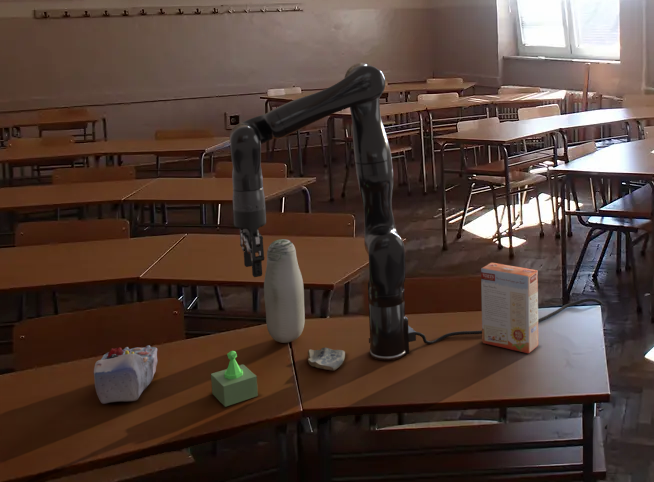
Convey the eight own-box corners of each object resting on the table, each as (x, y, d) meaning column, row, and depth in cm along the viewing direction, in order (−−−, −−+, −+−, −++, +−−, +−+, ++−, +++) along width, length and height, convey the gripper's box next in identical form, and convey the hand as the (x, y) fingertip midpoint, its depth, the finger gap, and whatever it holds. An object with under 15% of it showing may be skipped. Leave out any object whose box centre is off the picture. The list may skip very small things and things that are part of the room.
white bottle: (272, 332, 229) (266, 235, 224) (309, 332, 229) (304, 234, 224) (263, 348, 219) (256, 246, 215) (301, 348, 219) (295, 245, 214)
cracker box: (539, 346, 217) (538, 269, 213) (528, 354, 212) (528, 276, 208) (492, 335, 224) (491, 260, 221) (481, 343, 219) (480, 267, 216)
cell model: (87, 366, 186) (101, 333, 205) (91, 412, 188) (105, 374, 207) (148, 358, 189) (156, 326, 208) (152, 403, 191) (160, 367, 210)
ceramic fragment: (310, 346, 216) (346, 343, 214) (312, 357, 216) (348, 354, 214) (295, 364, 205) (333, 361, 203) (297, 376, 206) (335, 373, 204)
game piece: (245, 376, 193) (243, 351, 192) (227, 380, 191) (225, 356, 190) (240, 369, 196) (238, 345, 195) (221, 373, 194) (220, 349, 193)
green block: (244, 383, 200) (243, 364, 199) (258, 396, 193) (256, 376, 193) (212, 393, 195) (210, 373, 194) (225, 407, 189) (223, 386, 188)
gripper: (272, 211, 194) (276, 277, 197) (257, 197, 207) (261, 260, 210) (240, 215, 191) (244, 282, 194) (227, 202, 204) (231, 265, 206)
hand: (253, 271), depth 202 cm, fingers open, 8 cm apart
